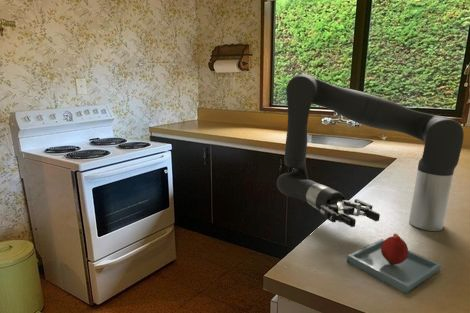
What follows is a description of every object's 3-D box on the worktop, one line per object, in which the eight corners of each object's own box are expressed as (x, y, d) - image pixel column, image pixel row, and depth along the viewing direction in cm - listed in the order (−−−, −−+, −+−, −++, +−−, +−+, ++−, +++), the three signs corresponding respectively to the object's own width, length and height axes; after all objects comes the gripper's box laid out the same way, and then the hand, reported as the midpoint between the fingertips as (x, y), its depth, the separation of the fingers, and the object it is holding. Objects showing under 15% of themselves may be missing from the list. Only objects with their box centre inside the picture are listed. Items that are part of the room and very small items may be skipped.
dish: (381, 245, 92) (382, 238, 92) (439, 271, 81) (441, 264, 80) (346, 261, 84) (347, 255, 83) (406, 294, 72) (408, 286, 72)
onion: (398, 257, 85) (403, 228, 83) (410, 271, 79) (416, 240, 77) (375, 257, 85) (379, 228, 83) (385, 270, 79) (390, 239, 77)
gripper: (306, 190, 98) (347, 211, 84) (344, 184, 104) (388, 203, 90) (304, 214, 100) (344, 239, 86) (341, 207, 106) (384, 229, 92)
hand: (366, 220), depth 88 cm, fingers open, 8 cm apart
